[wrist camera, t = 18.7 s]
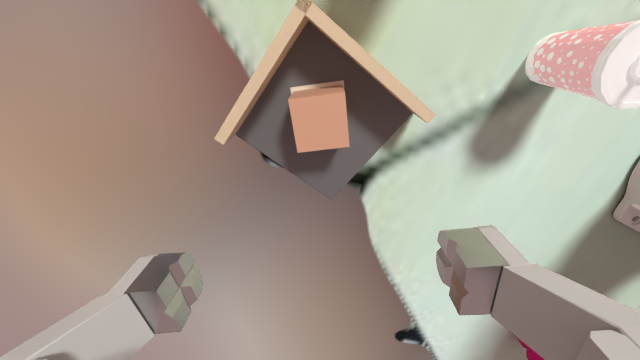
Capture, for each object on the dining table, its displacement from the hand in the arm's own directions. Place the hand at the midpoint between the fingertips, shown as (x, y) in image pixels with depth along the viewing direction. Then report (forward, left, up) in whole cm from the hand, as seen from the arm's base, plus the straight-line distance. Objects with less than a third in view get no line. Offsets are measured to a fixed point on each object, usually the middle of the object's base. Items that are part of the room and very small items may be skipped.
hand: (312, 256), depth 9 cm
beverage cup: (-15, -18, -23) cm, 32 cm away
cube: (0, 0, -22) cm, 22 cm away
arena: (-1, +1, -22) cm, 22 cm away
